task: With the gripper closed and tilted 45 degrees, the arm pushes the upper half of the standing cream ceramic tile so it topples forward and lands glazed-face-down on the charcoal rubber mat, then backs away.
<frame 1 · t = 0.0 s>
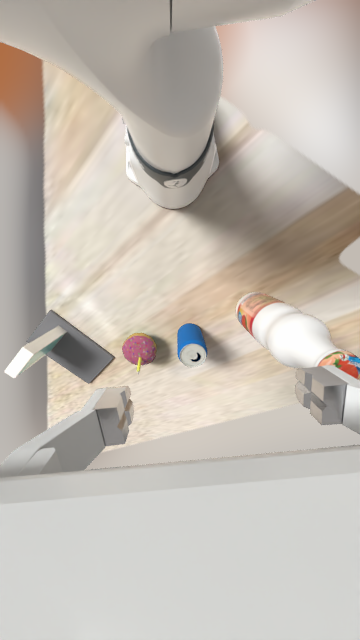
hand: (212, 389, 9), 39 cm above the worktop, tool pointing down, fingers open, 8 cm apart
tile: (54, 338, 49), point 1 cm above the worktop, touching mat
cupcake: (142, 341, 51), on the worktop
mat: (71, 348, 51), on the worktop
beverage can: (189, 333, 50), on the worktop
fruit juice: (252, 308, 48), on the worktop
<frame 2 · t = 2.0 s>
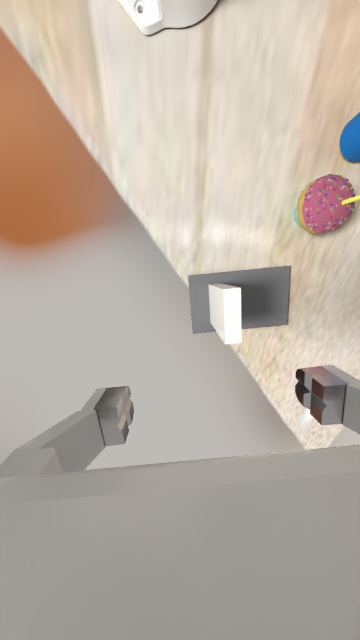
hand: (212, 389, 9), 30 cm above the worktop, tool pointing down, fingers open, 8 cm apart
tile: (215, 303, 38), point 1 cm above the worktop, touching mat
cupcake: (305, 214, 35), on the worktop
mat: (238, 300, 38), on the worktop
beverage can: (353, 143, 32), on the worktop
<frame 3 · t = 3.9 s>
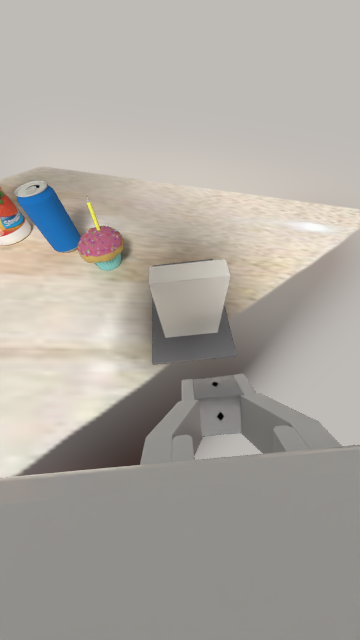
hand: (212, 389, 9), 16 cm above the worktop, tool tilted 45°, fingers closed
tile: (190, 328, 29), point 1 cm above the worktop, touching mat
cupcake: (111, 263, 39), on the worktop
mat: (187, 304, 32), on the worktop
beverage can: (70, 246, 43), on the worktop
fruit juice: (14, 235, 47), on the worktop
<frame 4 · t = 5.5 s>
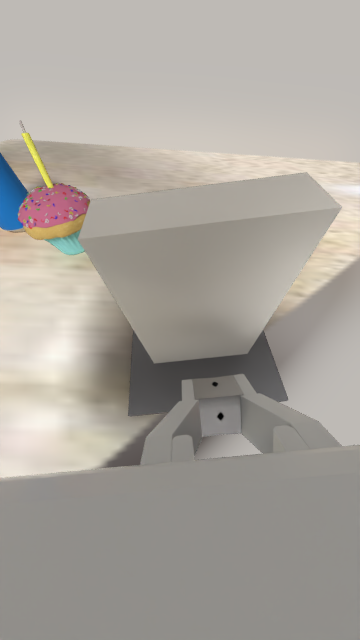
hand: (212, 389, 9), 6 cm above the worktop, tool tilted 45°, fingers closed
tile: (198, 345, 16), point 1 cm above the worktop, touching mat
cupcake: (78, 245, 27), on the worktop
mat: (192, 304, 20), on the worktop
beverage can: (26, 224, 31), on the worktop
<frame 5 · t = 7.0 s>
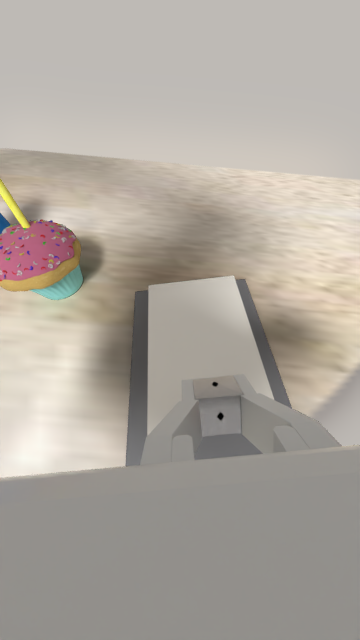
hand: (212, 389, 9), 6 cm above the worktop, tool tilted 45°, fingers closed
tile: (212, 429, 12), point 2 cm above the worktop, tilted 90°, touching mat
cupcake: (65, 286, 23), on the worktop
mat: (203, 380, 15), on the worktop
beverage can: (6, 255, 27), on the worktop
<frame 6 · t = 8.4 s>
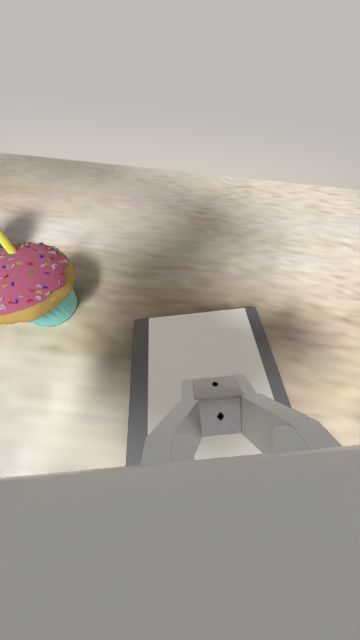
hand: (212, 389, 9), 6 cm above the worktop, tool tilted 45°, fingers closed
tile: (223, 506, 10), point 2 cm above the worktop, tilted 90°, touching mat
cupcake: (58, 310, 21), on the worktop
mat: (210, 430, 14), on the worktop
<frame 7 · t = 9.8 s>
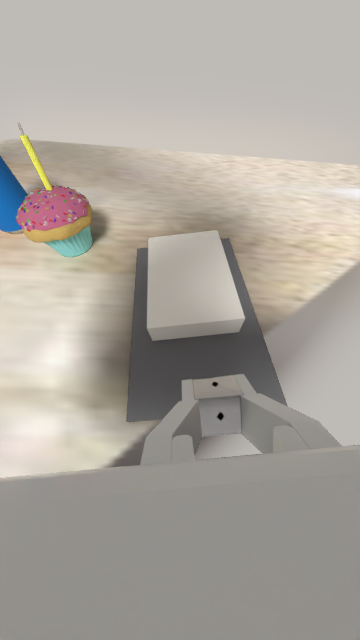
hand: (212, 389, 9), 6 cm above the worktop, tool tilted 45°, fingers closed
tile: (195, 330, 16), point 2 cm above the worktop, tilted 90°, touching mat
cupcake: (77, 247, 27), on the worktop
mat: (191, 308, 19), on the worktop
beverage can: (25, 225, 31), on the worktop
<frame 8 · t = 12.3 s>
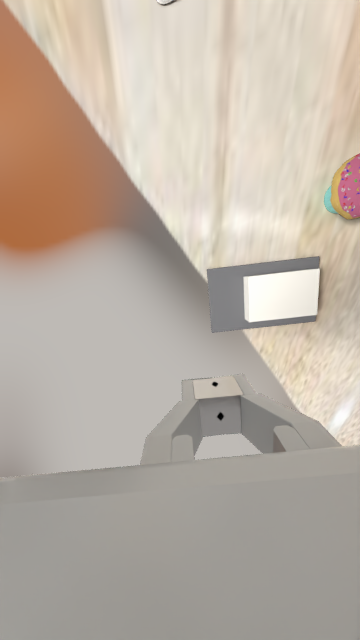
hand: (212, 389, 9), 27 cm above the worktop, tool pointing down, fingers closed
tile: (246, 299, 33), point 2 cm above the worktop, tilted 90°, touching mat
cupcake: (336, 199, 32), on the worktop
mat: (261, 295, 35), on the worktop
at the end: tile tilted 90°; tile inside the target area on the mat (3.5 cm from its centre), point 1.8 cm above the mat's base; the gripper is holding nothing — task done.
